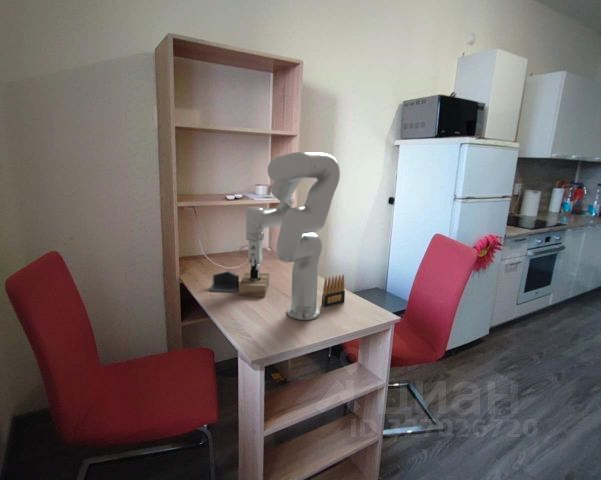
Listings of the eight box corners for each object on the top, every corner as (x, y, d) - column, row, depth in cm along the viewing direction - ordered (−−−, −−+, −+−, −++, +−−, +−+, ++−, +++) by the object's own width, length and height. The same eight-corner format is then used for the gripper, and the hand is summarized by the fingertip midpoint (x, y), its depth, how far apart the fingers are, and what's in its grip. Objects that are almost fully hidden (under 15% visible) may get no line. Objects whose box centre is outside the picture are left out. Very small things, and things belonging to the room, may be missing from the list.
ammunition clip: (341, 300, 149) (343, 273, 146) (344, 302, 148) (346, 274, 145) (321, 305, 143) (322, 277, 141) (324, 307, 142) (325, 279, 139)
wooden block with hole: (264, 297, 150) (265, 285, 149) (239, 296, 150) (238, 284, 149) (269, 283, 165) (269, 273, 164) (245, 282, 166) (245, 272, 164)
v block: (209, 291, 154) (209, 278, 153) (215, 282, 164) (215, 270, 163) (237, 292, 154) (237, 279, 152) (241, 283, 164) (241, 271, 163)
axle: (258, 291, 156) (258, 265, 153) (250, 290, 156) (250, 264, 153) (259, 288, 159) (259, 262, 156) (251, 287, 159) (251, 262, 157)
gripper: (261, 240, 144) (260, 283, 148) (266, 232, 160) (265, 270, 164) (242, 240, 144) (243, 282, 148) (249, 231, 160) (249, 270, 164)
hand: (254, 276), depth 156 cm, fingers closed on axle, 3 cm apart
